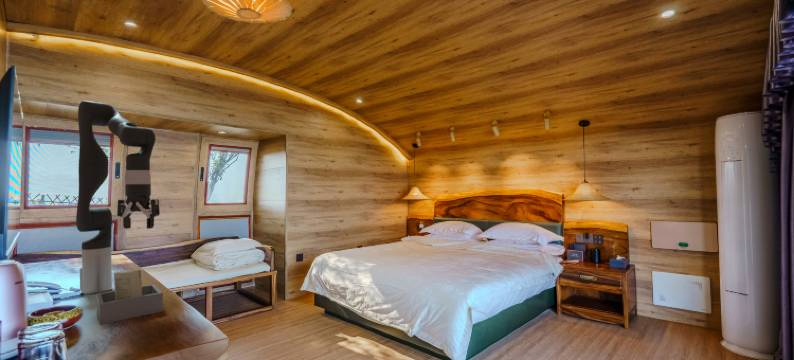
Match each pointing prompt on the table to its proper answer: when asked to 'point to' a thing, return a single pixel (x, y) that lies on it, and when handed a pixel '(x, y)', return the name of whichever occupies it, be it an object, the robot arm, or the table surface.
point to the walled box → (129, 305)
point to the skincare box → (127, 284)
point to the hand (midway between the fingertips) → (138, 228)
